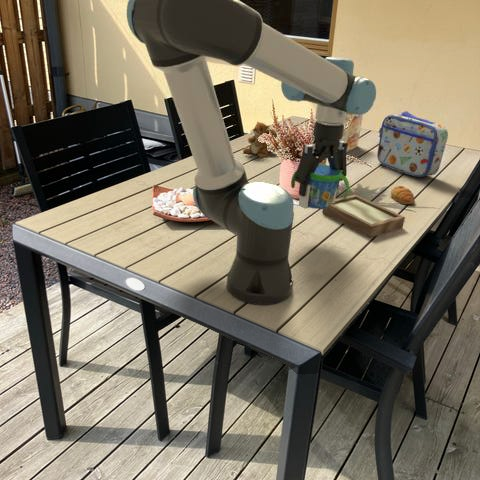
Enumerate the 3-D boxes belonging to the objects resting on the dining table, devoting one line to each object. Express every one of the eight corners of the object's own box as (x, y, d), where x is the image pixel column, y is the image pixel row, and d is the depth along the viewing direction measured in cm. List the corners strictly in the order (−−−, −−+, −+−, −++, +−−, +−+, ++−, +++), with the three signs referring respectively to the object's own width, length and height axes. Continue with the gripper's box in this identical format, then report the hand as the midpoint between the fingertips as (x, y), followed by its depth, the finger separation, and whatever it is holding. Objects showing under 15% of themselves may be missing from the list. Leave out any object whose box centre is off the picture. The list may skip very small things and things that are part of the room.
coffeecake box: (345, 153, 215) (353, 108, 206) (330, 150, 218) (337, 105, 209) (358, 146, 226) (365, 102, 218) (343, 143, 230) (350, 100, 221)
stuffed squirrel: (241, 152, 207) (242, 121, 201) (264, 147, 216) (267, 117, 210) (257, 159, 201) (260, 126, 195) (281, 153, 210) (284, 122, 204)
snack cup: (350, 206, 137) (356, 171, 133) (337, 218, 129) (344, 180, 124) (298, 193, 144) (303, 159, 139) (282, 203, 135) (287, 167, 131)
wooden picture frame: (369, 237, 141) (372, 226, 139) (322, 212, 155) (323, 201, 154) (402, 227, 148) (404, 217, 146) (354, 204, 163) (355, 194, 161)
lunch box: (368, 162, 205) (378, 108, 196) (385, 158, 211) (395, 106, 201) (423, 183, 186) (437, 124, 176) (440, 179, 191) (455, 121, 181)
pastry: (418, 205, 165) (421, 195, 164) (400, 206, 164) (402, 195, 162) (405, 195, 174) (407, 184, 172) (387, 195, 172) (389, 185, 171)
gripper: (306, 128, 118) (294, 215, 127) (370, 123, 129) (355, 203, 139) (286, 121, 123) (276, 205, 133) (349, 116, 135) (336, 194, 145)
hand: (316, 204), depth 136 cm, fingers closed on snack cup, 9 cm apart
